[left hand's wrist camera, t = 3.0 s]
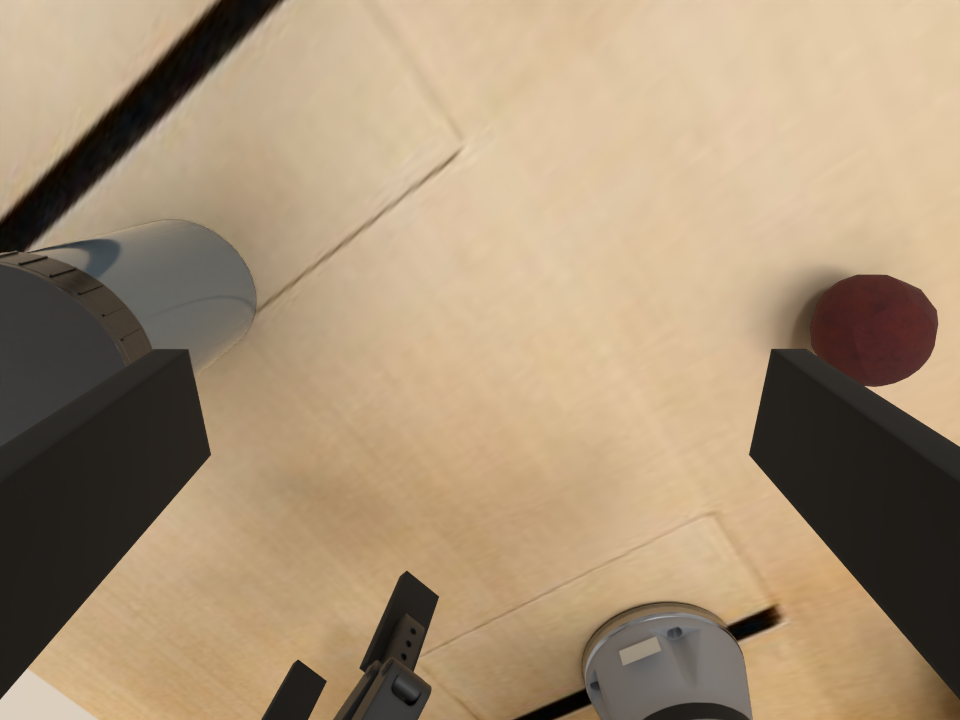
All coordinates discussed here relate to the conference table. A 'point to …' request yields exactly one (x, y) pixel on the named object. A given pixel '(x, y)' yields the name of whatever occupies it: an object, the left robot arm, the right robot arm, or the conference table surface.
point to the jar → (172, 284)
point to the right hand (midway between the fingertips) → (360, 632)
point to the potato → (874, 329)
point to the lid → (57, 338)
